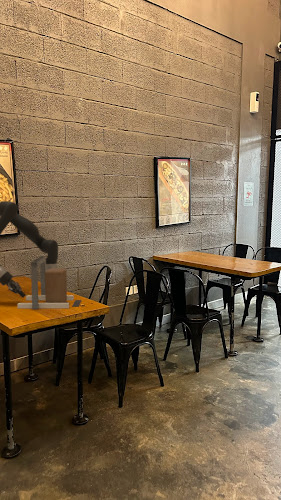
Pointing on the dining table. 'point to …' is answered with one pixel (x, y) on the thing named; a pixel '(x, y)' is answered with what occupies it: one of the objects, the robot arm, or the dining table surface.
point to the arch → (34, 279)
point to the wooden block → (55, 286)
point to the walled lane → (45, 305)
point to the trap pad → (76, 303)
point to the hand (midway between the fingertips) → (24, 296)
